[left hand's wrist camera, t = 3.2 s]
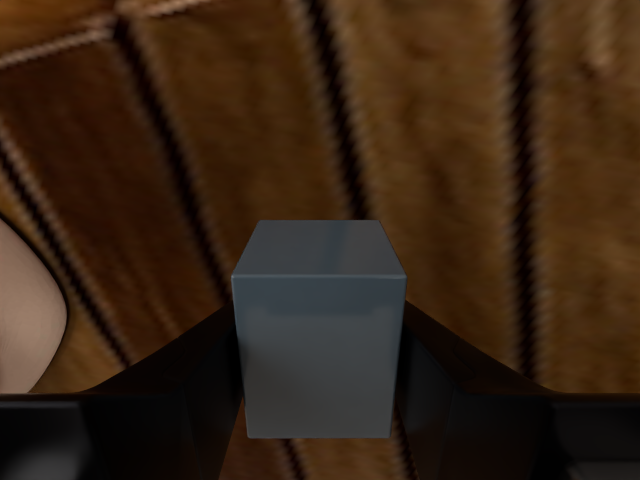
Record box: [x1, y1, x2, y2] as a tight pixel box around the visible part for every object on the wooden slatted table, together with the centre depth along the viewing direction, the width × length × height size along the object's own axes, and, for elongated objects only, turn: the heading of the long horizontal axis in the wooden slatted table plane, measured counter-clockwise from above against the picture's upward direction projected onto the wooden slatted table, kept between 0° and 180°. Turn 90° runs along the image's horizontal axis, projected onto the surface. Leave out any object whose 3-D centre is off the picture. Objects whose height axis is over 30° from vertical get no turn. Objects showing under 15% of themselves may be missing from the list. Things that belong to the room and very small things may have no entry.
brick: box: [231, 220, 407, 438], centre depth 11 cm, size 4×5×4 cm
